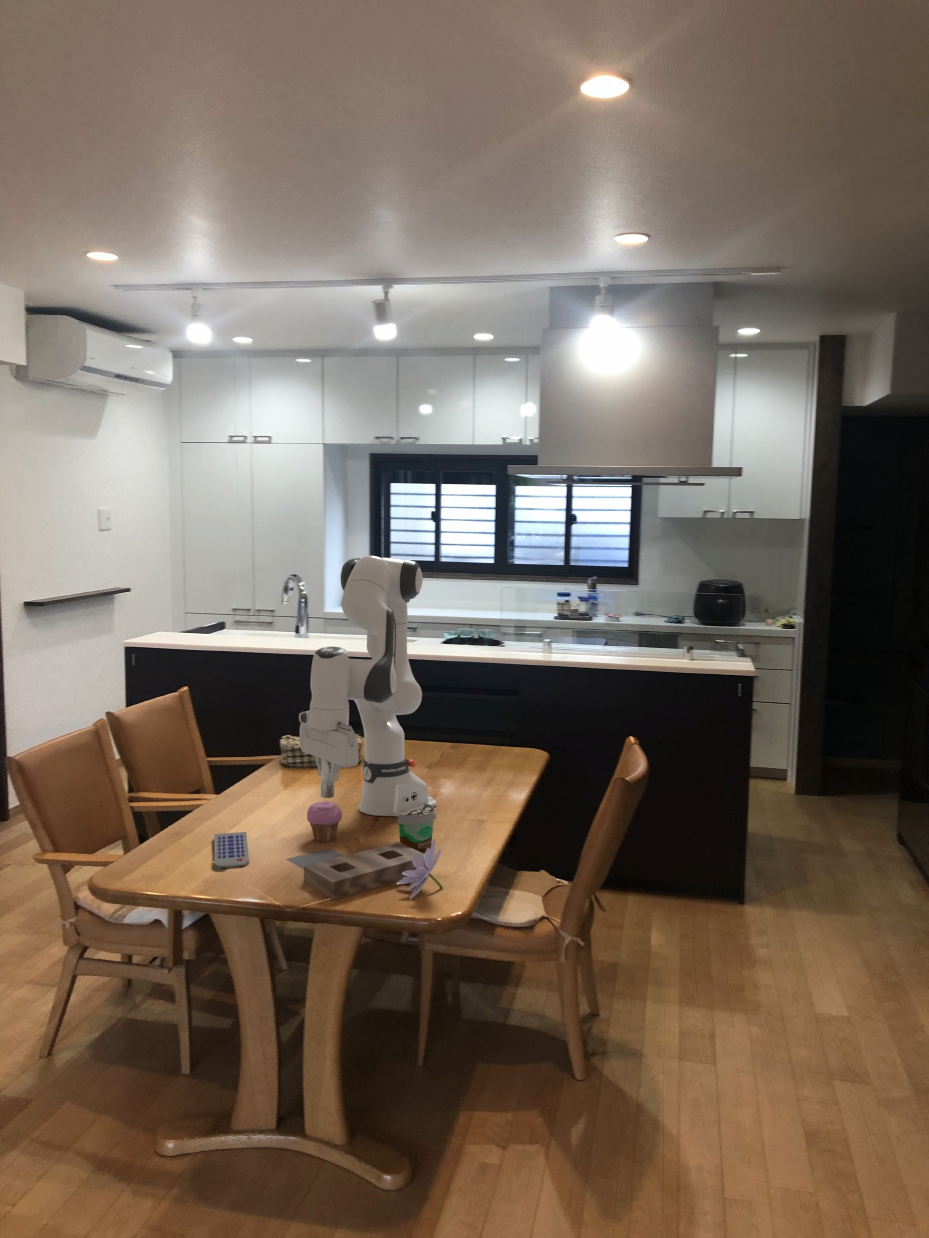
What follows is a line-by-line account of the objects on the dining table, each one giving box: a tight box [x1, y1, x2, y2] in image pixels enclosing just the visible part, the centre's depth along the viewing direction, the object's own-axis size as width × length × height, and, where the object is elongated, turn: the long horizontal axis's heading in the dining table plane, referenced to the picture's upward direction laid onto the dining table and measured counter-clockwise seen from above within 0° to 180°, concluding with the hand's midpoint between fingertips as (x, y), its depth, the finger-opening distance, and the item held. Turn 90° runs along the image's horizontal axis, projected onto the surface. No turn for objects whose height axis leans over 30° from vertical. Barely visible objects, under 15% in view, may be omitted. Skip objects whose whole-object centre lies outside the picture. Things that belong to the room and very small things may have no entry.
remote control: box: [213, 831, 250, 871], centre depth 232 cm, size 8×23×2 cm, turn 14°
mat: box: [286, 848, 344, 870], centre depth 227 cm, size 12×12×1 cm
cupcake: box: [306, 800, 343, 843], centre depth 242 cm, size 9×9×10 cm
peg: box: [320, 759, 335, 799], centre depth 218 cm, size 3×3×10 cm
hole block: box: [303, 841, 425, 901], centre depth 217 cm, size 26×12×4 cm, turn 130°
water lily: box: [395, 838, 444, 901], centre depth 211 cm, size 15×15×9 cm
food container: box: [396, 803, 438, 854], centre depth 236 cm, size 12×6×10 cm, turn 148°
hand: (328, 778), depth 218 cm, fingers closed on peg, 3 cm apart
